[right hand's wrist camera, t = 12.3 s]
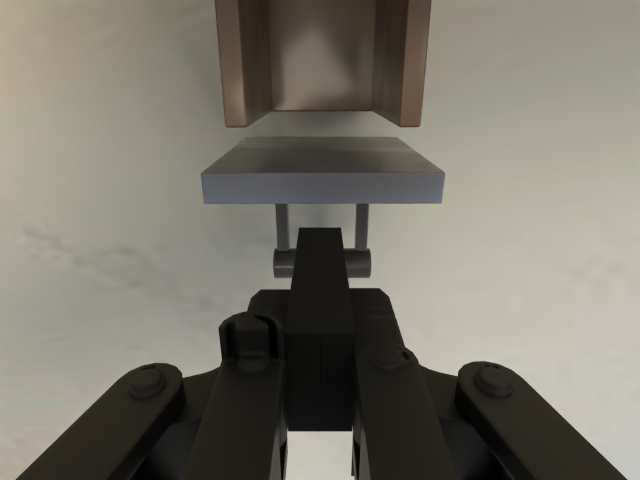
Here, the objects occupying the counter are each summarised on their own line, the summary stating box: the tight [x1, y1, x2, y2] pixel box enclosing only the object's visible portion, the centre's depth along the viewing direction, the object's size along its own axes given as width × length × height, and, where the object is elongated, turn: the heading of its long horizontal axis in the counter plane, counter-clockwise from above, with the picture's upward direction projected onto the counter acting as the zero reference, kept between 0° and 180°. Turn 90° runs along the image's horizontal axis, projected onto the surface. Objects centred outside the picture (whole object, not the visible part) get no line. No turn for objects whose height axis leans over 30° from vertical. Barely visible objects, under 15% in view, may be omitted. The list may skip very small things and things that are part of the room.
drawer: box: [201, 0, 445, 278], centre depth 18 cm, size 23×9×10 cm, turn 0°
